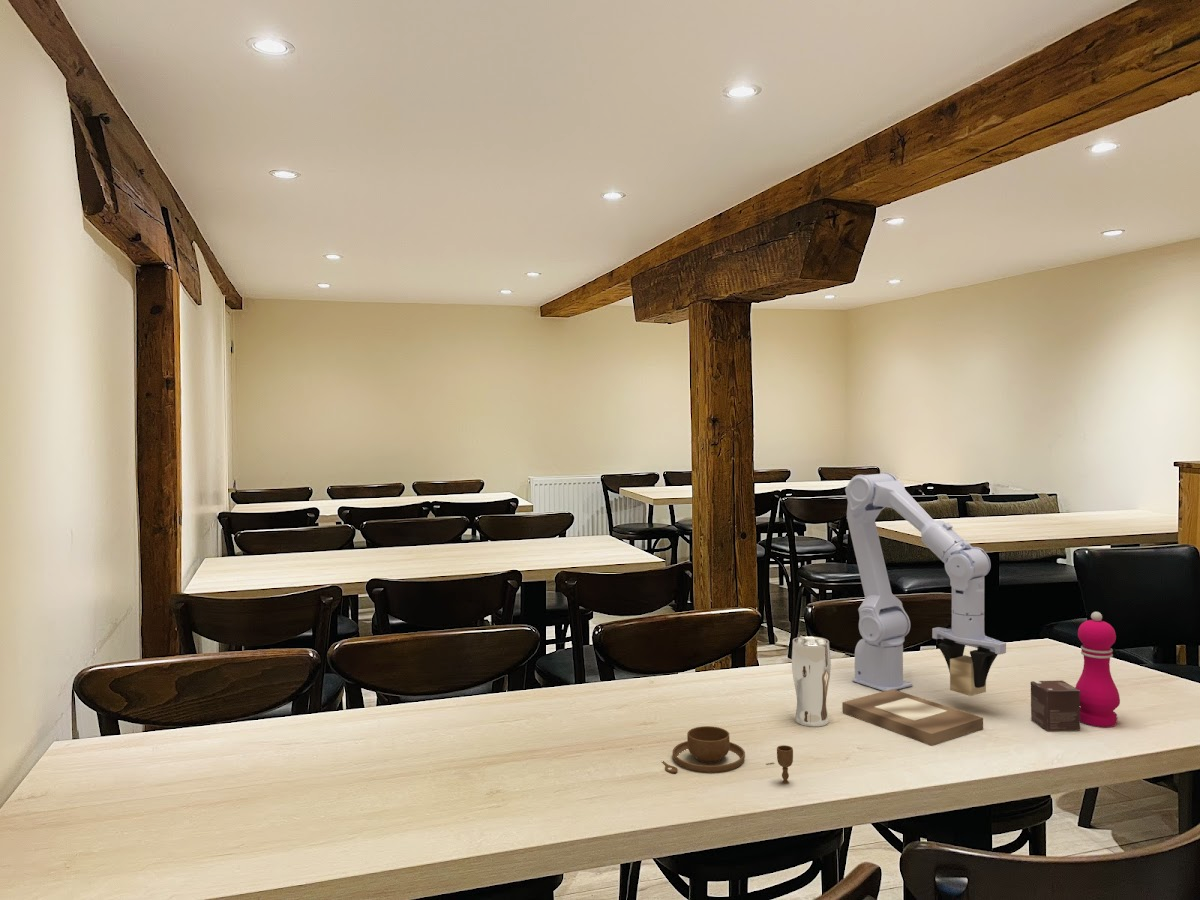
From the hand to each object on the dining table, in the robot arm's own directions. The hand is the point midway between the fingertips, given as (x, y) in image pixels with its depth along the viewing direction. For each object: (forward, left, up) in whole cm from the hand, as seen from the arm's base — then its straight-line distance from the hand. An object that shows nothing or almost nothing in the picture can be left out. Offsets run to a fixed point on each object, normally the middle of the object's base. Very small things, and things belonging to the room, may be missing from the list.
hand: (967, 683), depth 164 cm
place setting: (-5, -56, -6) cm, 57 cm away
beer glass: (-12, -29, -5) cm, 32 cm away
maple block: (0, 0, -2) cm, 2 cm away
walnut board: (-2, -14, -5) cm, 15 cm away
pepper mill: (+17, +13, -5) cm, 22 cm away
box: (+14, +5, -5) cm, 16 cm away
